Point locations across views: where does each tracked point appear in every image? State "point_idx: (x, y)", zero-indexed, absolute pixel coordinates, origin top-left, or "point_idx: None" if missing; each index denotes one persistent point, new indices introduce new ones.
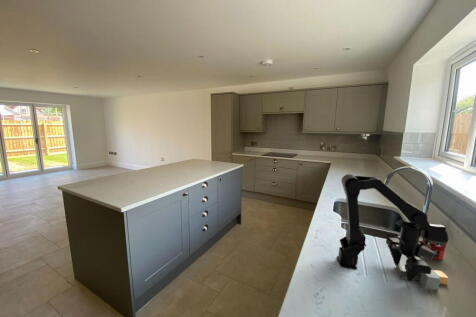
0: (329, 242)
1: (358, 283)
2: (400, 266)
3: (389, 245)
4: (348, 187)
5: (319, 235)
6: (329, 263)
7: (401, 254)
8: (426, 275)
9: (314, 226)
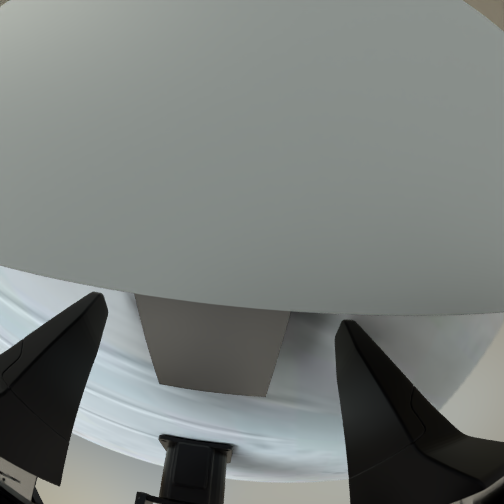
0: (78, 423)
1: (316, 450)
2: (178, 370)
3: (35, 493)
4: None
5: None
6: None
7: (12, 396)
8: (493, 305)
9: None
